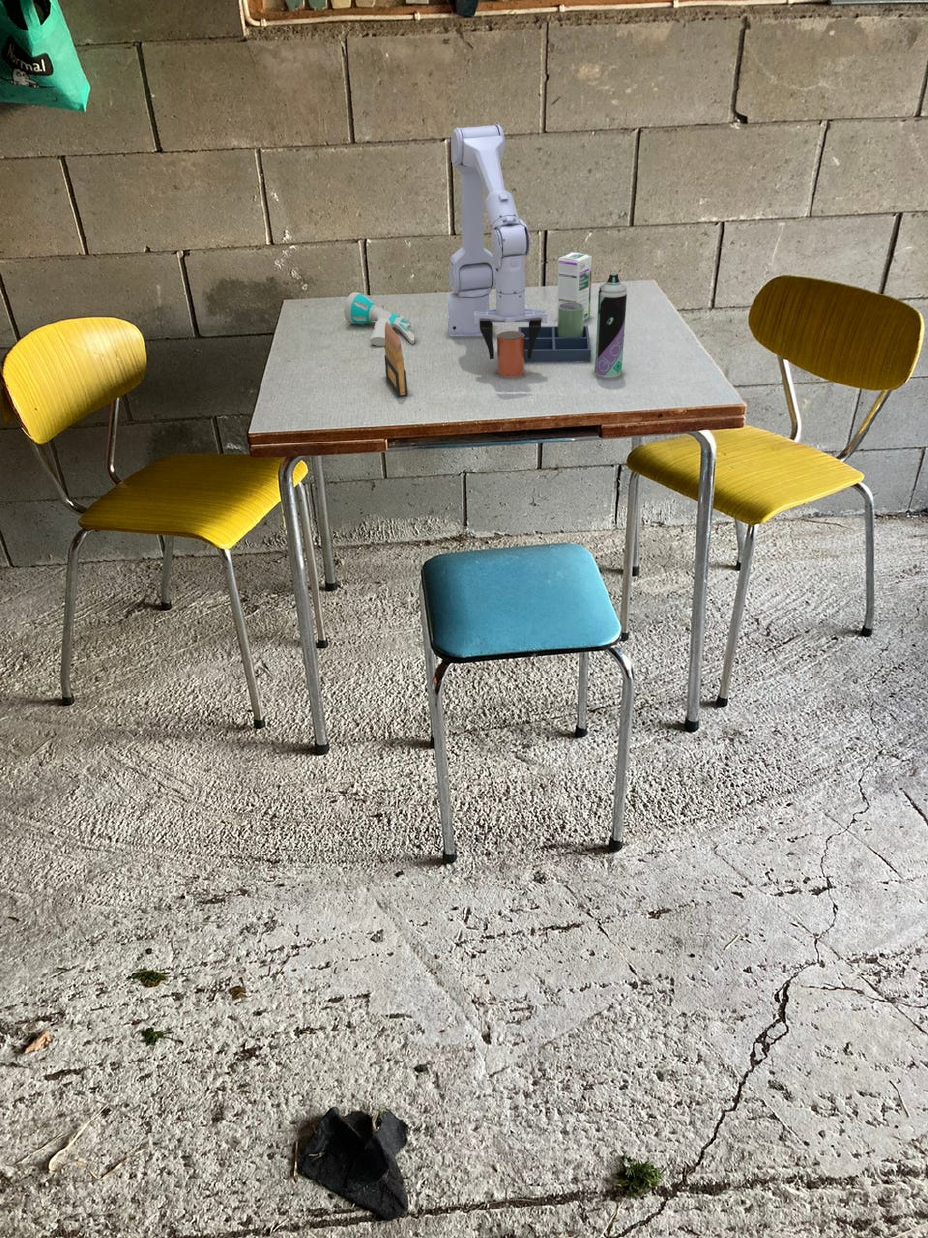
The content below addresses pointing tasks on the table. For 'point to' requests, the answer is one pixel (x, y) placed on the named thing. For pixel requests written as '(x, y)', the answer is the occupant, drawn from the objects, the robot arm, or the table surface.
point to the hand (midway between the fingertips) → (510, 357)
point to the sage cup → (570, 320)
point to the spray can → (610, 327)
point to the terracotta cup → (510, 353)
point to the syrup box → (575, 280)
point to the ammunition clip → (394, 362)
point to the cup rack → (557, 346)
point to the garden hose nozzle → (375, 318)
